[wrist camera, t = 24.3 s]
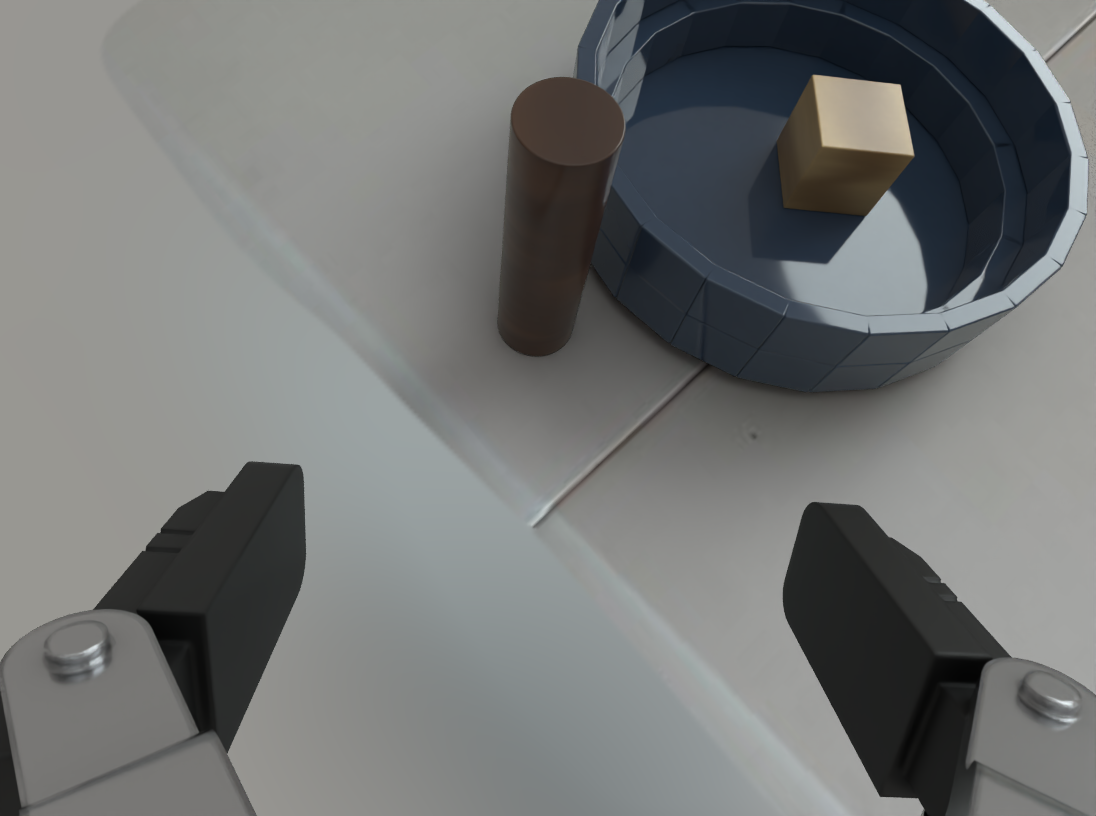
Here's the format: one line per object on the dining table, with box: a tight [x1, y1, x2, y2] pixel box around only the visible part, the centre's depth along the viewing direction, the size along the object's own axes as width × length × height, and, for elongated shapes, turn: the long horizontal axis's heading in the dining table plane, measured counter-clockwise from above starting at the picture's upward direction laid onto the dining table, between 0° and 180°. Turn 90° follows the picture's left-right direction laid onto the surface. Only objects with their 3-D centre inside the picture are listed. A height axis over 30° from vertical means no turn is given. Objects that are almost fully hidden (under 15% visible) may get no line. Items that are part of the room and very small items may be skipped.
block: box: [777, 75, 914, 216], centre depth 28 cm, size 4×4×4 cm
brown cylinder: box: [497, 77, 626, 356], centre depth 22 cm, size 3×3×10 cm
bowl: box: [573, 0, 1089, 392], centre depth 28 cm, size 18×19×5 cm
